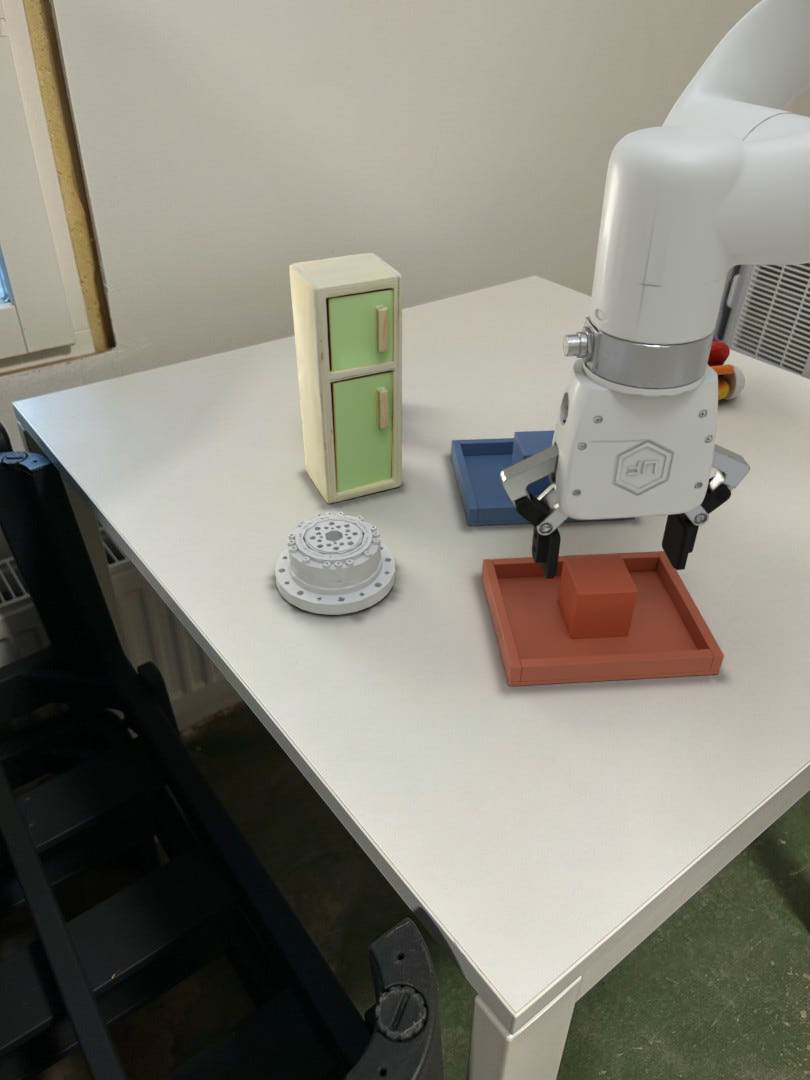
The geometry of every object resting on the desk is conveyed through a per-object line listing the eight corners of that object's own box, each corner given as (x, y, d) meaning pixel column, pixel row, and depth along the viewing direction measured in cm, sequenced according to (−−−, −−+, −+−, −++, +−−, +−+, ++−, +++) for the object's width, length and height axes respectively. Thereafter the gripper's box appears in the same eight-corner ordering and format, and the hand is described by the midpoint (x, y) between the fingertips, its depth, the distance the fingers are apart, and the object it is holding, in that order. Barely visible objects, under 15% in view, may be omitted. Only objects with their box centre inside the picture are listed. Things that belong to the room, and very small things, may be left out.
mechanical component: (404, 610, 66) (385, 538, 74) (405, 567, 63) (385, 496, 71) (279, 624, 65) (273, 548, 72) (274, 580, 62) (269, 507, 70)
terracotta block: (611, 598, 67) (620, 554, 64) (628, 636, 63) (638, 591, 60) (557, 601, 66) (563, 556, 64) (570, 639, 63) (578, 594, 60)
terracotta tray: (661, 568, 71) (665, 550, 70) (718, 674, 61) (724, 655, 59) (481, 576, 70) (482, 558, 68) (508, 686, 59) (511, 667, 58)
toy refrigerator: (328, 510, 77) (316, 289, 65) (303, 472, 83) (287, 261, 70) (405, 491, 80) (408, 276, 67) (376, 456, 85) (374, 250, 73)
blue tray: (597, 450, 87) (600, 434, 86) (634, 518, 77) (638, 501, 75) (450, 455, 86) (451, 439, 84) (468, 526, 75) (469, 508, 74)
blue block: (554, 469, 83) (560, 429, 80) (565, 493, 79) (571, 453, 76) (510, 471, 82) (514, 431, 80) (519, 495, 79) (523, 455, 76)
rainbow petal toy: (681, 414, 93) (695, 354, 89) (642, 377, 101) (653, 320, 97) (748, 406, 95) (765, 347, 91) (705, 371, 103) (718, 315, 98)
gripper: (521, 383, 48) (504, 603, 58) (808, 368, 49) (742, 587, 59) (498, 331, 54) (487, 540, 64) (755, 319, 55) (703, 526, 65)
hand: (609, 562), depth 62 cm, fingers open, 9 cm apart
